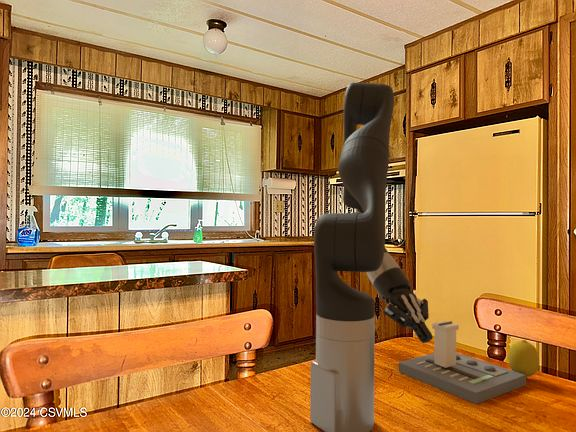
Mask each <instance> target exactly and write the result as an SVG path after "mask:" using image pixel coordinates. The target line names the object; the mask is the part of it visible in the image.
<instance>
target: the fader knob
mask: <svg viewBox="0 0 576 432" xmlns="http://www.w3.org/2000/svg"><path fill="white" fill-rule="evenodd" d="M431 326H432V329H433V330H434V342H433V343H434V345H433V346H434V349H433V350H434V352H433V353H434V364H437V365H440V366H442V367H445V368H447V367H450V366H454V365H456V353H457V331H459V329H460V328H459V324H458V323H454V322H453V321H438V322H434V323H432V325H431Z"/></svg>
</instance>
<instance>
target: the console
mask: <svg viewBox="0 0 576 432" xmlns="http://www.w3.org/2000/svg"><path fill="white" fill-rule="evenodd" d="M398 373H401V374H403V375H406V376H408V377H409V378H412V379H416V380H417V381H419V382H423V383H425V384H427V385H429V386H431V387H435V388H436V389H439V390H441V391H444V392H446V393H448V394H450V395H452V396H453V395H454V396H455V397H458V398H460V399H463V400H465V401H468V402H470V403H472V404H475V405H478V404H481V403H483V402H485V401H488V400H491V399H493V398H497V397H499V396H501V395H504V394H507V393H509V392H511V391H514V390H517V389H519V388H521V387H524V386H526V385H527V378H526V375H525V374H522V373H519V372H516V371H512V369H508V368H505V367H502V366H499V365H496V364H493V363H490V362H487V361H484V360H480V359H477V358H474V357H472V356H468V355H465V354H462V353H459V352H456V365H454V366H450V367H447V368H445V367H442V366H440V365H437V364H434V352H433V353H430V354H425V355H422V356H418V357H417V356H416V357H413V358H410V359H406V360H403V361H399V362H398Z"/></svg>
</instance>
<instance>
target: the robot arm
mask: <svg viewBox="0 0 576 432" xmlns="http://www.w3.org/2000/svg"><path fill="white" fill-rule="evenodd" d="M394 93H395V92H394V90H393V88H392V87H391V86H390V85H388V84H385V83H370V82H369V83H368V82H351V83H349V84H348V86H347V87H346V90H345V93H344V99H343V107H342V108H343V111H342V114H343V145H342V148H341V152H340V157H339V162H338V175H339V179H340V180H341V182H342V184H343V190H342V191H343V193H342V201H343V205H344V206H345V207H347V208H350V209H353V210H356V212H355V211H354V212H343V213H342V212H341V213H339V212H337V213H336V212H333V213H323V214H321V215H319V216H318V218H317V220H316V221H315V226H314V233H313V235H314V236H313V247H314V248H313V251H314V267H315V308H316V309H315V313H316V315H315V317H316V318H315V319H316V320H315V325H316V326H315V361H312V362H310V390H309V391H310V393H309V394H310V399H309V400H310V402H309V403H310V405H309V408H310V410H309V411H310V413H309V415H310V417H309V418H310V420H309V421H310V423H311V424H314V426H316V427H317V428H319V429H320V430H322V431H323V432H371V431H372V430H373V429H374V427H375V348H376V347H375V344H376V343H375V342H376V341H375V334H376V333H375V329H376V328H375V327H376V326H375V325H376V316H375V315H376V305H375V304H376V303H375V299H374V297H372V296H371V295H370V294H368V293H366V292H364V291H361V290H358V289H356V288H354V287H352V286H350V285H349V284H347V283H346V282H344V281H343V280H342V279H341V277H340V275H339V273H338V272H347V273H349V272H350V273H351V272H352V273H366V275H367V277H368V279H369V281H370V282H371V284H372V285H373V287H374V289H375V290H376V292H377V294H378V295H379V297H380V298H381V300H382V301H384V302H385V304H386V307H385V308H384V309H383V310H382V311H383V314H384V315H385V316H387V317H388V318H389V319H391V320H393V321H394V322H395V323H396V324H397V325H398V324H399V325H400V326H401V327H402V328H407V327H409V329H411V330H412V331H413V332H414V334H415V336H417V339H418V340H419V341H420V342H421V343H422V344H426V343H429V342H430V341H432V340H433V335H432V332H431V331H430V329H429V328H428V326H427V325H426V321H427V320H428V319H429V317H430V313H429V301H428V300H427V299H426V298H422V299H420V298H418V297H417V295H416V293H415V292H413V291H412V290H411V282H410V280H409V279H408V277H407V276H406V275H405V273H404V271H403V270H402V269H401V267H400V265H399V264H398V263H397V261H396V260H395V259H394V257H392V255H391V254H390V252H389V251H388V250H387V248H386V210H385V209H386V208H385V207H386V206H385V205H386V190H387V189H386V188H387V179H388V173H389V164H390V163H389V161H390V133H391V132H390V131H391V127H392V126H391V125H392V121H393V120H392V119H393V116H394V115H393V114H394V110H395V109H394V107H395V94H394ZM357 125H359V126H361V127H359V128H358V129H357Z"/></svg>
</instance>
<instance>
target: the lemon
mask: <svg viewBox="0 0 576 432" xmlns="http://www.w3.org/2000/svg"><path fill="white" fill-rule="evenodd" d="M507 355H508V356H507V362H508V365H509V368H510V370H512V371H516V372H519V373H522V374H525V375H526V379H527V378H528V377H529V378H530V377H532V376H534V375H535V374H536V373H537V371H538V370H539V368H540V356H539V352H538V350H537V349H536V347H535V346H534V345H533V344H532V343H530V342H529V341H527V340H526V339H521V340H518V341H515V342H514V343H512V344H511V345H510V348H509V350H508V354H507Z"/></svg>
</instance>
